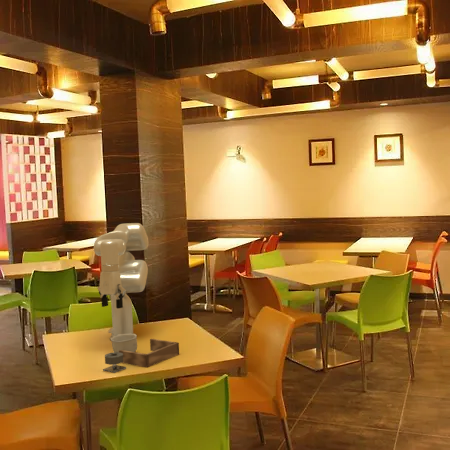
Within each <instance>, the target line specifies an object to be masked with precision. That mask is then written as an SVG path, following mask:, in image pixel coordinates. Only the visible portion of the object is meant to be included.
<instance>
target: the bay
mask: <svg viewBox="0 0 450 450" xmlns="http://www.w3.org/2000/svg"><path fill="white" fill-rule="evenodd" d="M149 346H150V351H151V352H147V353H141V352H137V351H135V352H131V351H125V350H119V353H123V362H122V363H121V364H126V365H130V366H131V365H132V366H138V367H142V368H150V367H152V366H154V365H157V364H159V363H162V362H164V361H166V360H168V359H171V358H174V357H176V356H179V355H180V344H179V342H177V341H169V340H162V339H156V338H150V339H149Z"/></svg>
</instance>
